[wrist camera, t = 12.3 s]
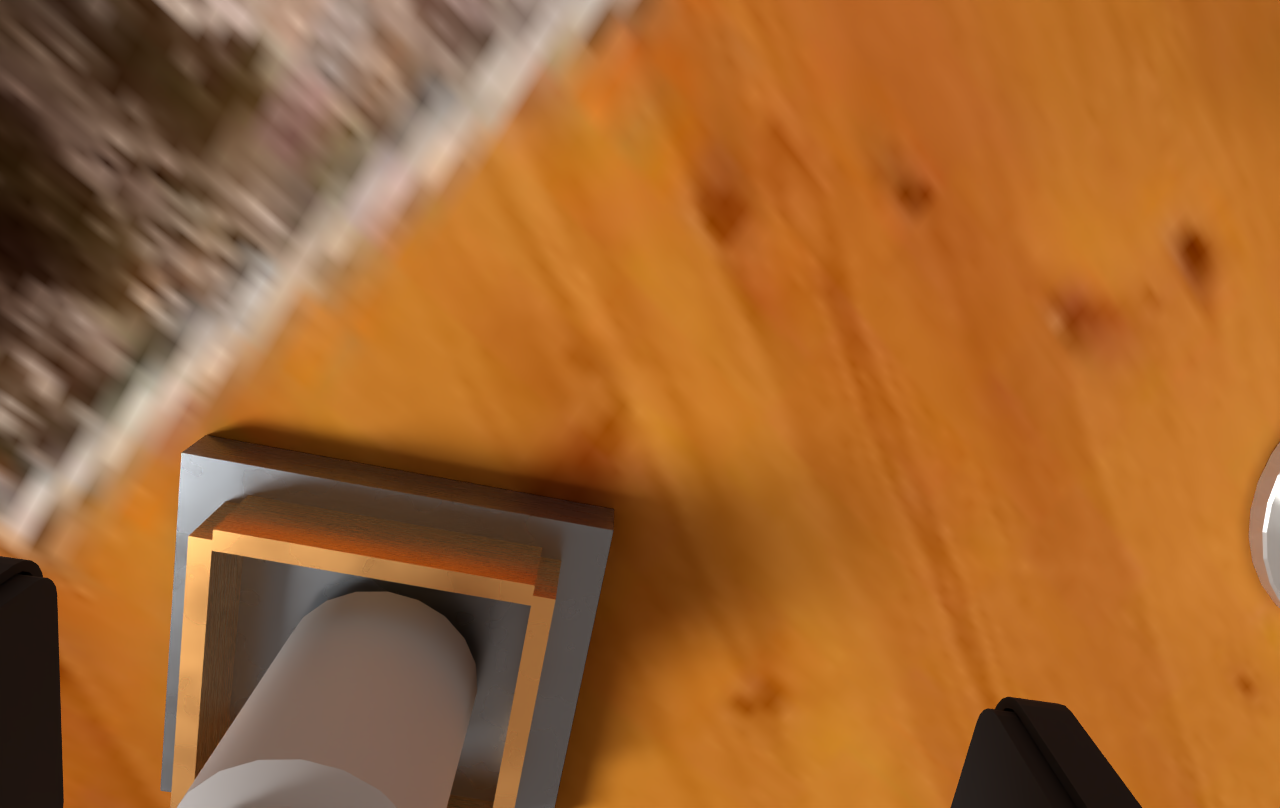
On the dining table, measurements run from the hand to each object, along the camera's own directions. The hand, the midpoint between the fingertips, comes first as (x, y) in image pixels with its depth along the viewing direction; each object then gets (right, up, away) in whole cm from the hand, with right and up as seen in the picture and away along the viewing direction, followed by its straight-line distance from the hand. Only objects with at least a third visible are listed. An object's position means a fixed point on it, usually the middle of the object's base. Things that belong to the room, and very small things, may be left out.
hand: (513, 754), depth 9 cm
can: (-9, -7, +27) cm, 29 cm away
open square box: (-9, -6, +28) cm, 31 cm away
